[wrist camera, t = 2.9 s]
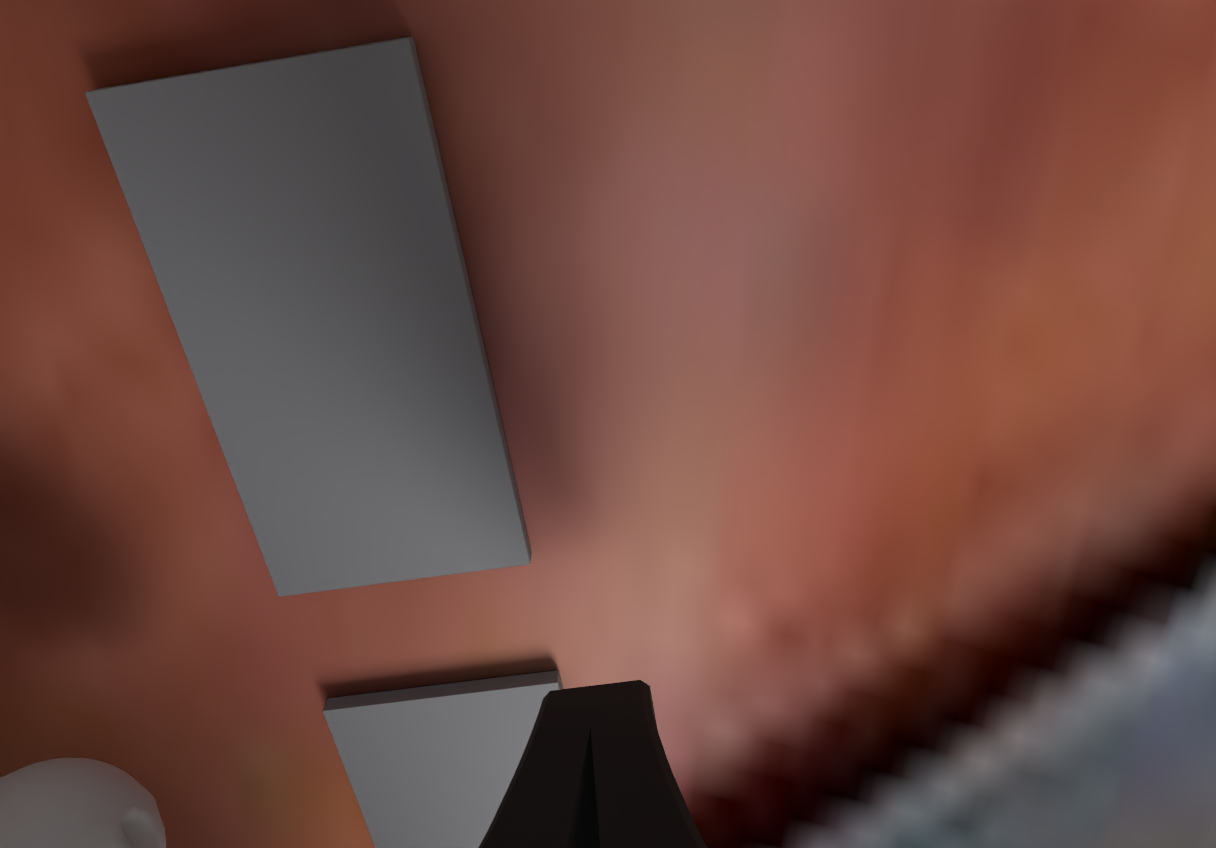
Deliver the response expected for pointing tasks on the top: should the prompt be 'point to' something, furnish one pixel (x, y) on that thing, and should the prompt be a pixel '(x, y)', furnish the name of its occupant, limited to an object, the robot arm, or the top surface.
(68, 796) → the chubby cartoon animal
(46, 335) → the top surface
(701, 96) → the top surface
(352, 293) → the rectangular frame
